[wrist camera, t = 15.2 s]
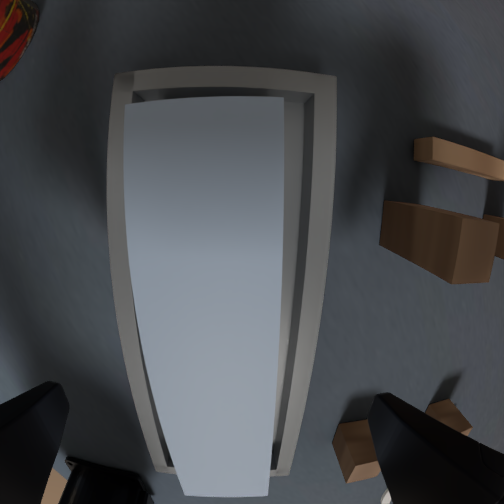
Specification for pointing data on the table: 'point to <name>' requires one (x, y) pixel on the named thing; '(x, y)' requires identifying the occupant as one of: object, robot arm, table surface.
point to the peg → (209, 279)
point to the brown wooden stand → (437, 262)
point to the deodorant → (15, 31)
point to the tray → (294, 229)
